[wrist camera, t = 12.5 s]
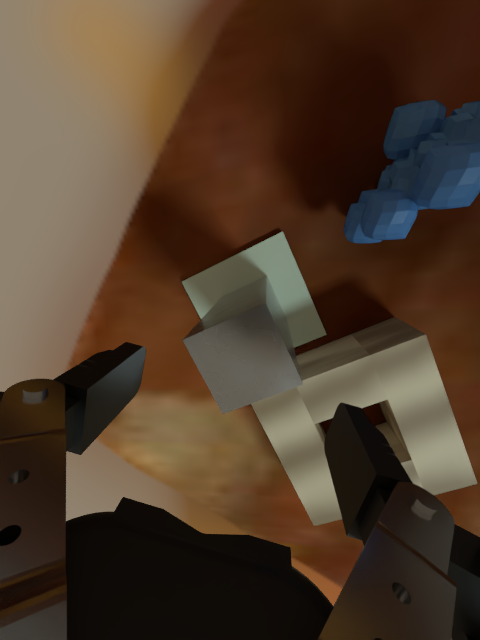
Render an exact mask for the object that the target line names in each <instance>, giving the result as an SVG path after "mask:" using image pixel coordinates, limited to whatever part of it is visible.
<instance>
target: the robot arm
mask: <svg viewBox="0 0 480 640" xmlns="http://www.w3.org/2000/svg"><path fill="white" fill-rule="evenodd" d="M145 355H146V349H145V347H143V346H139V345H136V344H132V343H128V342H125V343H124V344H122V345H121V346H119V347H118V348H116V349H115V350H113V351H112V350H107V351H103V352H100V353H96V354H95V355H93V356H91V357H90V358H88V359H87V360H85V361H83V362H81V363H80V364H79V365H77V366H75V367H73V368H72V369H70V370H68V371H67V372H65V373H63V374H62V375H60V376H58V377H57V378H55V379H54V380H50V379H31V380H26V381H22V382H19V383H17V384H14V385H12V386H11V387H9V388H8V389H7V390H6V391H5V392H0V640H451V637H452V640H480V537H478V536H476V535H474V534H472V533H470V532H469V531H467V530H465V529H463V528H461V527H459V526H457V525H455V524H454V519H453V517H452V515H451V514H450V512H449V511H448V509H447V508H446V507H445V506H444V505H443V503H442V502H441V501H439V500H438V499H437V498H436V497H435V496H434V495H432V494H431V493H430V492H428V491H427V490H425V489H423V488H422V487H420V486H418V485H415V484H413V482H412V481H411V479H410V478H409V476H408V474H407V473H406V471H405V469H404V468H403V466H402V464H401V463H400V461H399V459H398V458H397V456H395V453H394V451H393V449H392V448H391V447H390V444H389V443H388V441H387V439H386V438H385V436H384V434H382V433H381V432H380V431H379V430H378V429H377V428H376V427H375V426H374V425H373V424H370V422H369V420H368V418H367V417H366V415H365V413H364V411H363V410H362V408H360V407H357V406H353V405H349V404H346V403H340V404H339V405H338V407H337V409H336V411H335V414H334V416H333V419H332V421H331V424H330V426H329V429H328V431H327V434H326V437H325V442H324V451H325V455H326V459H327V462H328V466H329V470H330V474H331V478H332V482H333V485H334V489H335V493H336V497H337V501H338V504H339V508H340V512H341V516H342V520H343V523H344V527H345V531H346V535H347V536H350V537H353V538H356V539H360V540H362V541H363V544H364V548H363V550H362V552H361V553H360V555H359V557H358V559H357V561H356V563H355V565H354V567H353V569H352V571H351V573H350V575H349V577H348V579H347V581H346V583H345V585H344V587H343V589H342V591H341V593H340V595H339V597H338V599H337V601H336V602H335V604H334V606H333V605H332V604H331V603H330V602H329V600H328V599H327V598H326V596H325V595H324V594H323V593H322V592H321V591H320V590H319V589H318V587H317V586H316V585H315V584H314V583H312V582H311V581H310V580H309V579H308V578H307V577H306V576H304V575H303V574H302V573H301V572H299V571H298V570H297V569H295V568H294V567H292V565H291V549H290V547H286V546H283V545H280V544H277V543H273V542H270V541H267V540H263V539H260V538H257V537H253V536H250V535H226V534H204V533H201V532H199V531H197V530H196V529H194V528H192V527H191V526H189V525H188V524H186V523H184V522H183V521H181V520H180V519H178V518H177V517H175V516H173V515H172V514H170V513H169V512H167V511H165V510H164V509H161V508H158V507H154V506H151V505H148V504H144V503H141V502H137V501H134V500H131V499H128V498H125V497H123V498H122V499H121V501H120V503H119V505H118V506H117V508H116V510H115V511H114V512H99V513H93V514H88V515H83V516H80V517H77V518H74V519H71V520H68V521H66V452H67V451H69V452H72V453H75V454H79V455H81V454H82V453H83V452H84V451H85V450H86V449H87V447H89V445H90V444H91V443H92V442H93V441H94V440H95V439H96V438H97V437H98V436H99V435H100V433H101V432H102V431H103V430H104V429H105V428H106V427H107V426H108V425H109V424H110V423H111V421H112V420H113V419H114V418H115V417H116V416H117V415H118V414H119V413H120V412H121V411H122V409H123V408H124V407H125V406H126V405H127V404H128V403H129V402H130V401H131V400H132V399H133V398H134V396H135V395H136V393H137V392H138V389H139V387H140V384H141V379H142V373H143V367H144V361H145Z"/></svg>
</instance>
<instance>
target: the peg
mask: <svg viewBox="0 0 480 640" xmlns="http://www.w3.org/2000/svg"><path fill="white" fill-rule="evenodd" d="M183 342H184V344H185V345H186V347H187V349H188V351H189V353H190V355H191V356H192V358H193V360H194V362H195V364H196V366H197V368H198V369H199V371H200V373H201V375H202V377H203V379H204V380H205V382H206V384H207V386H208V388H209V390H210V391H211V393H212V395H213V397H214V399H215V401H216V403H217V404H218V406H219V408H220V410H221V412H222V414H224V413H227V412H230V411H233V410H235V409H238V408H241V407H243V406H246V405H249V404H252V403H254V402H257V401H260V400H263V399H265V398H268V397H271V396H273V395H276V394H279V393H282V392H284V391H287V390H290V389H293V388H295V387H298V386H301V385H303V381H302V377H301V373H300V369H299V365H298V361H297V357H296V353H295V349H294V345H293V341H292V337H291V333H290V329H289V325H288V321H287V319H286V317H285V314H284V312H283V310H282V308H281V305H280V303H279V301H278V299H277V297H276V294H275V292H274V290H273V288H272V285H271V283H270V281H269V279H268V277H267V276H265V277H263V278H261V279H259V280H256V281H254V282H252V283H250V284H248V285H246V286H243V287H241V288H239V289H237V290H235V291H233V292H231V293H228V294H226V295H224V296H222V297H221V298H220V299H219V300H218V301H217V302H216V304H215V305H214V306H213V307H212V308H211V309H210V310H209V311H208V312H207V314H206V315H205V316H204V317H203V318H202V319H201V320H200V321H199V322H198V323H197V325H196V326H195V327H194V328H193V329H192V330H191V331H190V332H189V333H188V335H187V336H186V337H185V338H184V339H183Z"/></svg>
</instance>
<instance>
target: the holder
mask: <svg viewBox="0 0 480 640" xmlns="http://www.w3.org/2000/svg"><path fill="white" fill-rule="evenodd" d="M296 357H297V361H298V365H299V369H300V373H301V377H302V381H303V385H301V386H298V387H295V388H293V389H290V390H287V391H284V392H282V393H279V394H276V395H273V396H271V397H268V398H265V399H263V400H260V401H257V402H254V403H252V404H251V405H252V407H253V409H254V411H255V413H256V415H257V417H258V419H259V421H260V423H261V424H262V426H263V428H264V430H265V432H266V434H267V436H268V438H269V440H270V442H271V444H272V446H273V448H274V449H275V451H276V453H277V455H278V457H279V459H280V461H281V463H282V465H283V467H284V469H285V471H286V473H287V475H288V476H289V478H290V480H291V482H292V484H293V486H294V488H295V490H296V492H297V494H298V496H299V498H300V500H301V501H302V503H303V505H304V507H305V509H306V511H307V513H308V515H309V517H310V519H311V521H312V523H313V525H314V526H316V525H320V524H324V523H328V522H332V521H336V520H339V519H342V516H341V512H340V508H339V504H338V501H337V497H336V493H335V489H334V485H333V482H332V478H331V474H330V470H329V466H328V462H327V459H326V455H325V451H324V442H325V437H326V434H325V432H324V430H323V428H322V426H321V424H320V422H322V421H325V420H328V419H331V418H333V416H334V414H335V411H336V409H337V407H338V405H339V404H340V403H346V404H349V405H353V406H357V407H360V408H364V407H367V406H370V405H373V404H376V403H379V405H380V407H381V410H382V412H383V414H384V417H385V419H386V422H385V423H382V424H379V425H376V426H375V427H376V428H377V429H378V430H379V431H380V432H381V433H382V434H384V436H385V438H386V439H387V441H388V443H389V444H390V447H391V448H392V449H393V451H394V453H395V456H397V458H398V459H399V461H400V463H401V464H402V466H403V468H404V469H405V471H406V473H407V474H408V476H409V478H410V479H411V481H412V482H413V484H415V485H418V486H420V487H422V488H423V489H425V490H427V491H428V492H430V493H431V494H432V495H436V494H440V493H444V492H448V491H451V490H455V489H459V488H463V487H467V486H471V485H475V484H477V481H476V478H475V475H474V473H473V470H472V467H471V464H470V461H469V458H468V455H467V452H466V449H465V447H464V444H463V441H462V438H461V435H460V432H459V429H458V426H457V424H456V421H455V418H454V415H453V412H452V409H451V406H450V403H449V400H448V398H447V395H446V392H445V389H444V386H443V383H442V380H441V377H440V374H439V372H438V369H437V366H436V363H435V360H434V357H433V354H432V351H431V349H430V346H429V343H428V340H427V337H426V334H424V333H422V332H420V331H419V330H417V329H415V328H413V327H412V326H410V325H408V324H406V323H405V322H403V321H401V320H399V319H397V318H396V317H393V318H391V319H388V320H386V321H383V322H381V323H378V324H376V325H373V326H370V327H368V328H365V329H363V330H360V331H358V332H355V333H353V334H350V335H348V336H345V337H343V338H340V339H338V340H335V341H333V342H330V343H328V344H325V345H322V346H320V347H317V348H315V349H312V350H310V351H307V352H305V353H302V354H300V355H297V356H296Z"/></svg>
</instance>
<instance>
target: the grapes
mask: <svg viewBox="0 0 480 640" xmlns="http://www.w3.org/2000/svg"><path fill="white" fill-rule="evenodd" d="M446 109H447V108H446V107H445V106H444V105H443V104H442V103H440V102H438V101H436V100H428V101H420V102H415V103H410V104H407V105H403V106H400V107H396V108H395V110H394V112H393V115H392V117H391V120H390V122H389V126H388V129H387V132H386V135H385V139H384V144H383V148H384V154H385V155H386V157H387V158H388V159H392V160H394V162H393V164H392V165H387V166H386V168H385V171H382V173H381V176H380V179H379V182H378V187H377V189H375V190H368V191H362V193H361V195H360V198H359V200H358V203H354V204H351V206H350V208H349V211H348V214H347V217H346V221H345V225H344V230H343V231H344V233H345V236H346V238H347V240H348V241H351V242H353V243H377V242H381V241H382V240H395V239H404V238H406V236H407V234H408V232H409V231H410V229H411V227H412V225H413V223H414V221H415V219H416V217H417V213H418V210H421V209H428V208H431V209H450V208H459V207H467V206H470V205H471V203H472V202H473V201H474V199H475V198H476V196H477V195H478V194H479V192H480V101H475V102H469V103H464V104H463V107H462V108H459V109H455V110H453V112H452V114H451V116H450V117H446V118H445V116H446Z"/></svg>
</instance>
